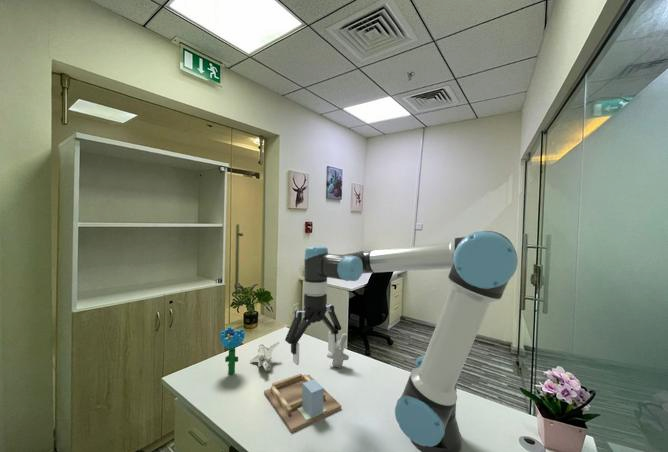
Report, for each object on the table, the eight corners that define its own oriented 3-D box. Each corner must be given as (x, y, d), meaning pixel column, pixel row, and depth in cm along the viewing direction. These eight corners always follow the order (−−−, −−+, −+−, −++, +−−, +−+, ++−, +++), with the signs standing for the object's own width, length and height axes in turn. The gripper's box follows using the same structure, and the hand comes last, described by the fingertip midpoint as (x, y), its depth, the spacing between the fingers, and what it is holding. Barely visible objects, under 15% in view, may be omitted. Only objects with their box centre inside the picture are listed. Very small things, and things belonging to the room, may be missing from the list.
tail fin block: (322, 412, 88) (323, 388, 88) (311, 417, 85) (311, 392, 85) (313, 401, 93) (314, 378, 93) (301, 406, 90) (302, 383, 90)
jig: (341, 409, 92) (341, 400, 92) (291, 433, 81) (291, 423, 81) (308, 377, 110) (309, 370, 110) (264, 393, 99) (264, 385, 99)
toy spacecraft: (274, 334, 123) (245, 353, 120) (276, 351, 108) (242, 374, 106) (283, 347, 125) (254, 367, 122) (286, 366, 110) (253, 389, 107)
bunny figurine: (349, 365, 120) (350, 332, 119) (347, 371, 115) (348, 337, 114) (328, 362, 122) (329, 329, 121) (325, 368, 117) (326, 334, 116)
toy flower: (234, 381, 105) (235, 336, 105) (214, 377, 108) (215, 333, 108) (247, 369, 114) (248, 327, 114) (229, 365, 117) (230, 324, 116)
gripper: (339, 286, 99) (337, 343, 99) (275, 296, 84) (274, 363, 84) (352, 290, 93) (350, 351, 93) (285, 302, 78) (284, 374, 78)
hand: (314, 357), depth 89 cm, fingers open, 13 cm apart
